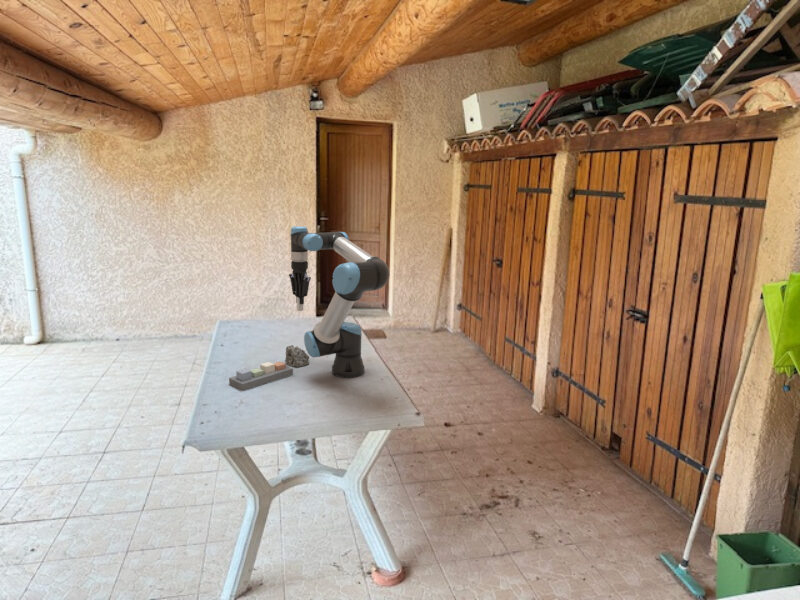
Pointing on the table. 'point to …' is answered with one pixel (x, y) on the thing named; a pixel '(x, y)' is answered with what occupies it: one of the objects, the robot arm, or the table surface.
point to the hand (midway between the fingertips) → (300, 310)
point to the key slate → (243, 375)
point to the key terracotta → (279, 366)
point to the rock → (296, 356)
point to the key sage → (256, 372)
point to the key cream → (267, 367)
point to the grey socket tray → (260, 379)
